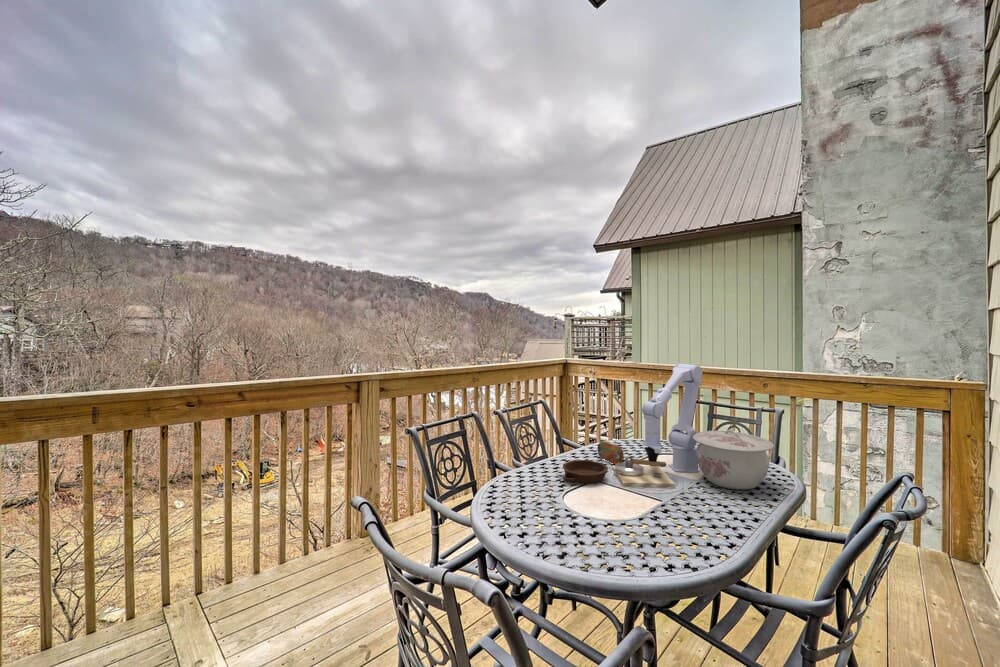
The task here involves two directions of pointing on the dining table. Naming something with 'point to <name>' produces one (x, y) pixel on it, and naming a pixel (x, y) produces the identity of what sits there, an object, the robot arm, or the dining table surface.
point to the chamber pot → (733, 458)
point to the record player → (646, 478)
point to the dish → (584, 472)
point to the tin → (610, 452)
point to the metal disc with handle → (635, 466)
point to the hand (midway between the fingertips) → (652, 465)
